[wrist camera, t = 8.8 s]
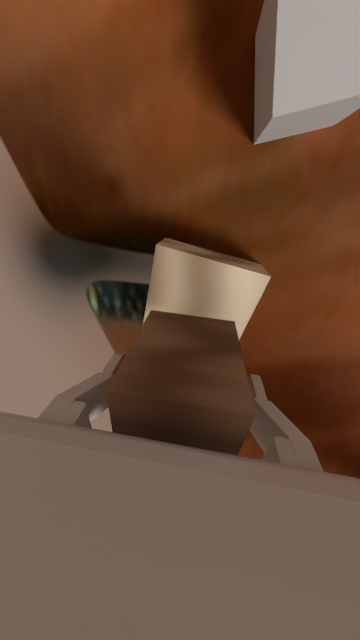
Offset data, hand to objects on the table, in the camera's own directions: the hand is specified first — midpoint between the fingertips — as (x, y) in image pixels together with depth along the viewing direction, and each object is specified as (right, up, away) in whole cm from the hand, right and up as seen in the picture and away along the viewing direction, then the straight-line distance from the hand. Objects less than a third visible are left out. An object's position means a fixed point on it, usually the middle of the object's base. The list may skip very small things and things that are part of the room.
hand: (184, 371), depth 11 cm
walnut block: (0, +1, +2) cm, 2 cm away
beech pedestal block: (+2, +6, +9) cm, 11 cm away
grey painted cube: (+7, +18, +1) cm, 19 cm away
